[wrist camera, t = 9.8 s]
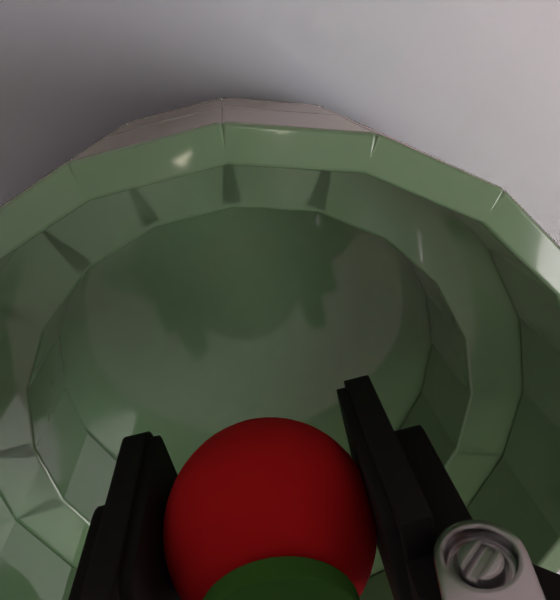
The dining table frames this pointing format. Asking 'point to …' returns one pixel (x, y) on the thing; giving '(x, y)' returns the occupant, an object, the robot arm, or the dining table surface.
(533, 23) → the dining table surface
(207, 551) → the red ball green cap
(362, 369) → the fruit bowl
